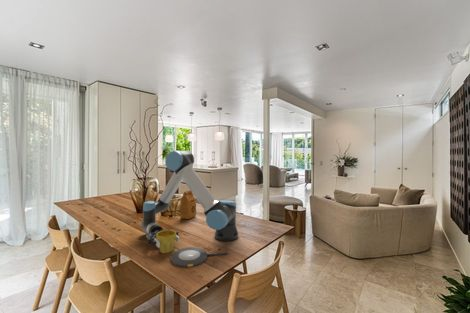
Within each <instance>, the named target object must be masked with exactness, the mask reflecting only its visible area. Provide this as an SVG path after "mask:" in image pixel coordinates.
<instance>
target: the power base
mask: <svg viewBox="0 0 470 313" xmlns="http://www.w3.org/2000/svg"><path fill="white" fill-rule="evenodd" d="M228 254H229V252H228V251H225V252H214V253H208V252H207V251H206V250H205V249H203V248H201V247H195V246H194V247H193V246H191V247H183V248H179V249H177V250H176V251H173V253H172V254H171V257H170V258H171V260H170V261H171V263H172V264H174V266H178V267H182V268H191V267H195V266H199V265H201V264H203V263H205V262H206V260H207V258H208V257H212V256H219V255H220V256H222V255H228Z"/></svg>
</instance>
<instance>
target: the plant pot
mask: <svg viewBox="0 0 470 313" xmlns="http://www.w3.org/2000/svg"><path fill="white" fill-rule="evenodd" d="M163 230H164V231H160V232H158V233H157V234H156V239H157V240H158V241H159V242H160V248H159V252H160V253H162V254H169V253H171V252H172V251H173V250H174V246H175V242H176V240H175V239H176V232H177V231H176V232H175V230H174V229H173V230H172V229H170V230H167V229H163Z"/></svg>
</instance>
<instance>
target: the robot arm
mask: <svg viewBox="0 0 470 313" xmlns="http://www.w3.org/2000/svg"><path fill="white" fill-rule="evenodd" d="M164 162H165V163H164V164H165V166H166V168H167V169H168V170H170V171H173V173H172V175H171V176H170V179H169V180H168V182H167V184H166V185H165V187H164V190H163V191H162V193H161V194H160V196H159V198H158V199H157V201H154V200H148V201H145V202H143V206H142V222H141V225H140V226H141V228H142V231H144V232H146V237H145V238H146V239H147V245H150V244H151V246H156V247H157V248H158V249H160V242H159V241H158V240H157V239H156V234H157V233H158V232H160V231H164V230H165V229H164V228H163V227H162V226H161V225H160V224H158V223H157V222H156V220H157V219H156V218H157V217H156V215H157V214H160V213H162V212H164V211H166V210H167V209H169V208H170V202H171V200H172V199H173V197H174V195H175V193H176V192H177V190H178V189H179V187H180V185H181V183H182V182H184V183H185V184H186V186H187V188H189V189H188V190H189V191H190V190H191V191H192V193H193V196H194V198H195V199H196V200H197V201H198V203H199V204H200V205H201V207H202V209H203V215H204V216H205V222H206V224H207V226H208V228H210V229H212V230H215V232H214V238H215V240H217V241H221V242H231V241H235V240H237V239H238V238H239V231H238V228H237V225H236V224H237V223H236V222H237V221H236V220H237V219H236V218H237V215H236V214H237V203H236V201H234V200H226V199H225V200H223V199H221V200H218V199H216V198H215V197H214V195H213V194H212V192H210V190H209V188H208V187H207V186H206V185H205V183H204V182H203V181H202V180H203V179H201V178H200V176H199V175H198V174H197V172H196V170H195V169H194V163H195V157H194V154H193V153H192V152H191V151H188V150H186V149H185V150H177V149H176V150H171V151H170V152H168V153H167V154H166V157H165V160H164ZM166 230H171V229H170V228H167V229H166ZM174 231H175V230H174ZM175 232H176V239H175V242H177V243H180V239H181V238H180V235H179V232H178V231H175Z"/></svg>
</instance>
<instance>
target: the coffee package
mask: <svg viewBox="0 0 470 313" xmlns="http://www.w3.org/2000/svg"><path fill="white" fill-rule="evenodd" d="M196 200H197V199H196V197H195V196H194V194H193V193H192V191H191V190H190V189H189V190H187V191H185V192H183V194H182V196H181V198H180V207H179V208H180V211H179V212H180V219H183V220H185V219H186V220H189V219H191V218H195V217H196V216H197V201H196Z"/></svg>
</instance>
